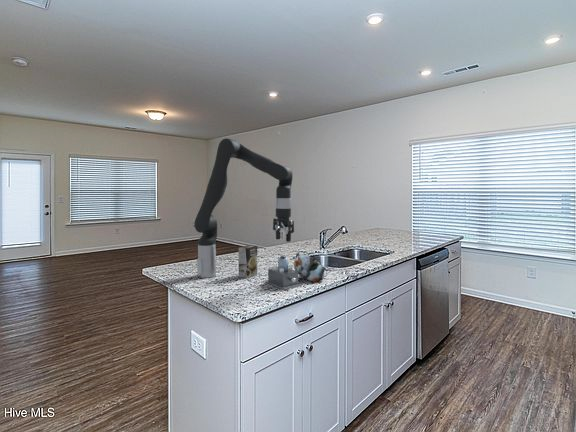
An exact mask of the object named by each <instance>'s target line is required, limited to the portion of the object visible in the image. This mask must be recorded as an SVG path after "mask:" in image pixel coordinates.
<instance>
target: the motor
mask: <svg viewBox="0 0 576 432" xmlns="http://www.w3.org/2000/svg"><path fill="white" fill-rule="evenodd" d="M267 274H268V275H267V277H268V279H267V280H265V283H266V284H268V285H271V286H273V287H276V288H278V289H281V290H282V291H285V290H287V289H292V288H296V287H301V286H302V283H301V282H299V274H298V271H295V269H293V265H289V266H288V271H284V268H279V271H278V265H273V267H271V268H268V270H267Z"/></svg>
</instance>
